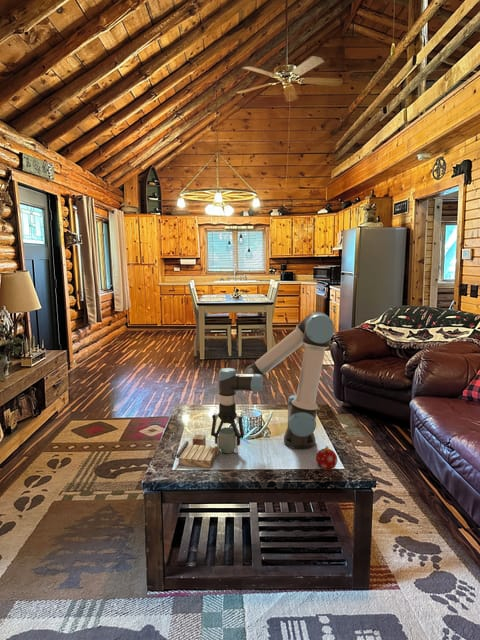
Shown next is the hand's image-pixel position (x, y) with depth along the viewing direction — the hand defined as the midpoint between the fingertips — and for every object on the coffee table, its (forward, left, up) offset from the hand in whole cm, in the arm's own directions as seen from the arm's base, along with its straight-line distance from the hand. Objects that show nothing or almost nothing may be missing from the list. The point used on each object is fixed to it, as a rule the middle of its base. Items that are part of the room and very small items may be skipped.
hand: (227, 451), depth 187 cm
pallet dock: (+11, +9, 0) cm, 14 cm away
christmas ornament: (-44, +8, -1) cm, 45 cm away
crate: (+14, -3, 0) cm, 14 cm away
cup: (0, 0, 0) cm, 0 cm away
